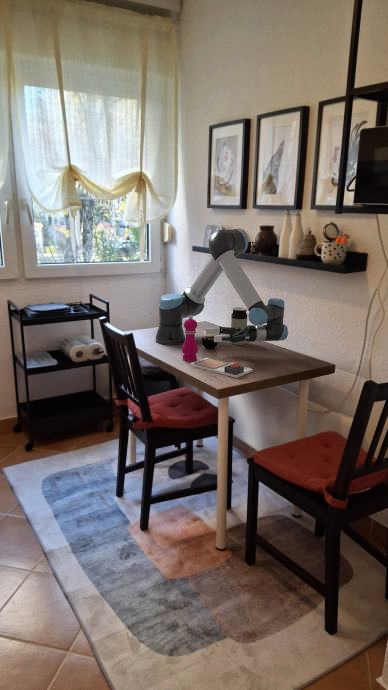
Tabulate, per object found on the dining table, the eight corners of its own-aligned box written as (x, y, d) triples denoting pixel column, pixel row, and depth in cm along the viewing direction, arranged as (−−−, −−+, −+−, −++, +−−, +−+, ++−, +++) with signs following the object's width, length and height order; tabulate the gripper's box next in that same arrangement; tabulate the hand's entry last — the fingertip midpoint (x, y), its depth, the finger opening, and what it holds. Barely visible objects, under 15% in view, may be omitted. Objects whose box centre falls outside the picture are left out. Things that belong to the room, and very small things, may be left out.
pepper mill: (196, 362, 222) (197, 317, 216) (179, 361, 223) (180, 316, 218) (198, 357, 228) (200, 314, 223) (183, 356, 230) (184, 313, 224)
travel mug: (228, 344, 253) (229, 308, 248) (232, 340, 260) (234, 306, 256) (243, 346, 250) (245, 310, 246) (247, 342, 258) (249, 307, 253)
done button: (233, 366, 209) (233, 361, 208) (240, 368, 207) (240, 363, 206) (228, 368, 206) (228, 363, 205) (235, 370, 204) (235, 365, 203)
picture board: (206, 359, 226) (207, 352, 225) (252, 371, 212) (253, 363, 211) (190, 365, 217) (190, 358, 216) (236, 378, 202) (237, 370, 202)
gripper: (264, 348, 220) (217, 350, 214) (244, 334, 243) (202, 336, 238) (265, 331, 218) (218, 333, 212) (245, 319, 241) (202, 320, 236)
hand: (209, 335), depth 225 cm, fingers open, 13 cm apart
